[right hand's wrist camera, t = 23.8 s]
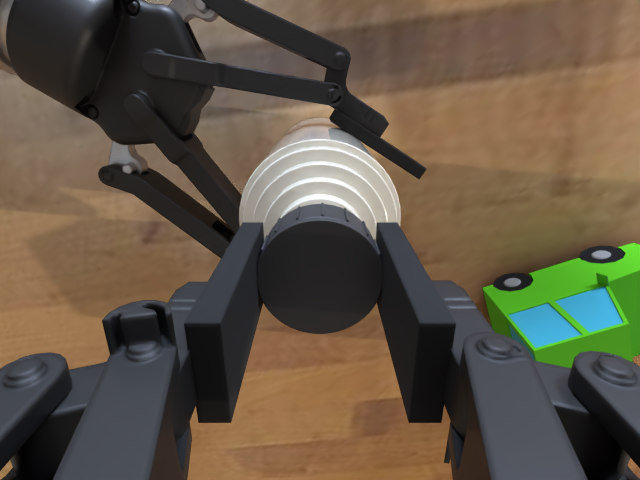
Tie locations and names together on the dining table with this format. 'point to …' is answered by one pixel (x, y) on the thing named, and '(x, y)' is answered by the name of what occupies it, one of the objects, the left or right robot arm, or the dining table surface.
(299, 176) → the bottle
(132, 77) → the left robot arm
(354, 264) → the cap
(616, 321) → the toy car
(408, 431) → the dining table surface
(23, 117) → the dining table surface
